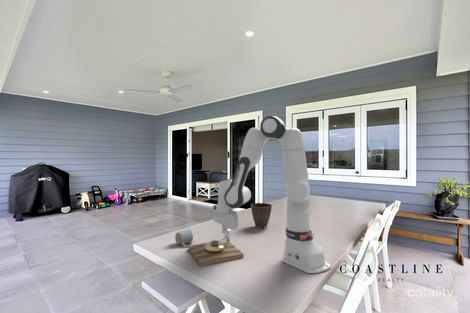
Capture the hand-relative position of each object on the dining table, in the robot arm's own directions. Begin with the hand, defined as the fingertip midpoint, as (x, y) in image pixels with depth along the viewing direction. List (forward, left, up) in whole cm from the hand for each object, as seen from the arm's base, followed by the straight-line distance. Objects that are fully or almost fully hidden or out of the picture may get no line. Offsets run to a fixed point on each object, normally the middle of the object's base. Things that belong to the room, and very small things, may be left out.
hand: (224, 233), depth 125 cm
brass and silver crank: (-5, +5, -5) cm, 9 cm away
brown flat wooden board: (-6, +8, -8) cm, 12 cm away
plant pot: (+23, -38, -8) cm, 45 cm away
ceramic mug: (+14, +19, -8) cm, 25 cm away
